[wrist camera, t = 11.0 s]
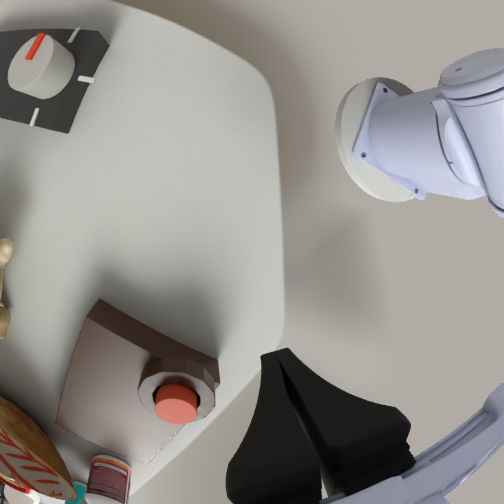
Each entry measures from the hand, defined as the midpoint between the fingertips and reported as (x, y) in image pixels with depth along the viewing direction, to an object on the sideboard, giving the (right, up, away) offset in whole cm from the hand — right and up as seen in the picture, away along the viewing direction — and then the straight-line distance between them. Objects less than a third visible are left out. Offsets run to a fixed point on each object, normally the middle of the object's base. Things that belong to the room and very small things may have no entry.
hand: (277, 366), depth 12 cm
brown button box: (-14, -9, +11) cm, 20 cm away
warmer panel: (-21, +21, +1) cm, 30 cm away
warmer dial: (-15, +18, 0) cm, 24 cm away
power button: (-7, -6, +7) cm, 11 cm away
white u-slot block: (-66, -60, +18) cm, 91 cm away
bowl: (-38, -21, +11) cm, 44 cm away
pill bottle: (-22, -26, +15) cm, 37 cm away
